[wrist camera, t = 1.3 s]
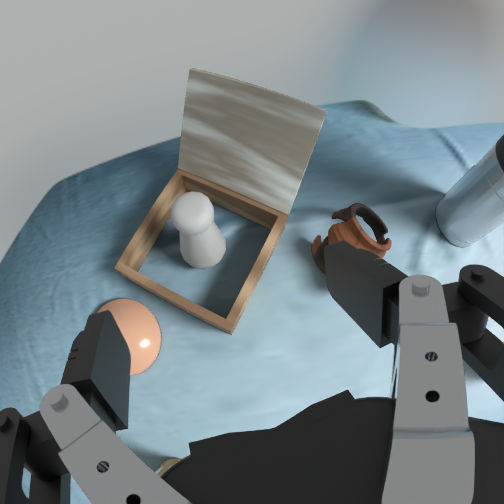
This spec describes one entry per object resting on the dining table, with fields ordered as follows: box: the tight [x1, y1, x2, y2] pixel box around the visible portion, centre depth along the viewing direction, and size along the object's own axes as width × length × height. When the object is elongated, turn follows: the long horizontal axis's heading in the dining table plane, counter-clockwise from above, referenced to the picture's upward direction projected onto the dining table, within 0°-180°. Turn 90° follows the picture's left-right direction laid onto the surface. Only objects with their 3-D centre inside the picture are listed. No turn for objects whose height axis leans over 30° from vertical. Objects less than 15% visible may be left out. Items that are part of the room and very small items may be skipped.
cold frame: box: [115, 68, 327, 335], centre depth 35 cm, size 22×16×17 cm
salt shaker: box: [171, 191, 226, 269], centre depth 36 cm, size 6×6×13 cm
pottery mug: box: [311, 203, 391, 274], centre depth 40 cm, size 12×10×8 cm
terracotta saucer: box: [97, 299, 162, 376], centre depth 37 cm, size 10×10×1 cm
